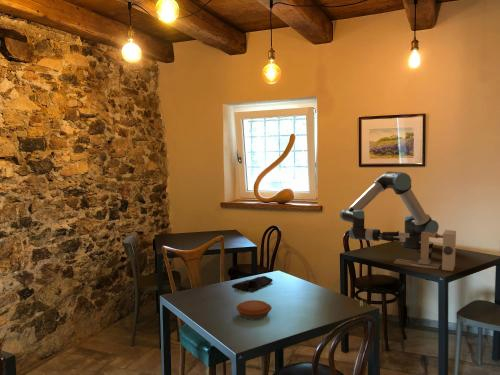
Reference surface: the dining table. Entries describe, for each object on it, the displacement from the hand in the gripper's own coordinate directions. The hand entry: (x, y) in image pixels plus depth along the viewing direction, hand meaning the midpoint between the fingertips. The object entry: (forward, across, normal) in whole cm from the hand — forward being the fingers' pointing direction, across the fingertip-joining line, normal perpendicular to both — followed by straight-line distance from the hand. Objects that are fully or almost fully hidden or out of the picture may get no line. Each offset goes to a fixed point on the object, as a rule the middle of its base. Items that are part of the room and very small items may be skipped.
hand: (407, 237), depth 274 cm
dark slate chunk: (-64, +86, -15) cm, 108 cm away
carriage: (+12, 0, -15) cm, 19 cm away
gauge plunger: (+21, 0, +1) cm, 21 cm away
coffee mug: (+7, -20, -17) cm, 27 cm away
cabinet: (+24, 0, -17) cm, 29 cm away
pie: (-43, +122, -14) cm, 130 cm away
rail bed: (+6, 0, -16) cm, 18 cm away
